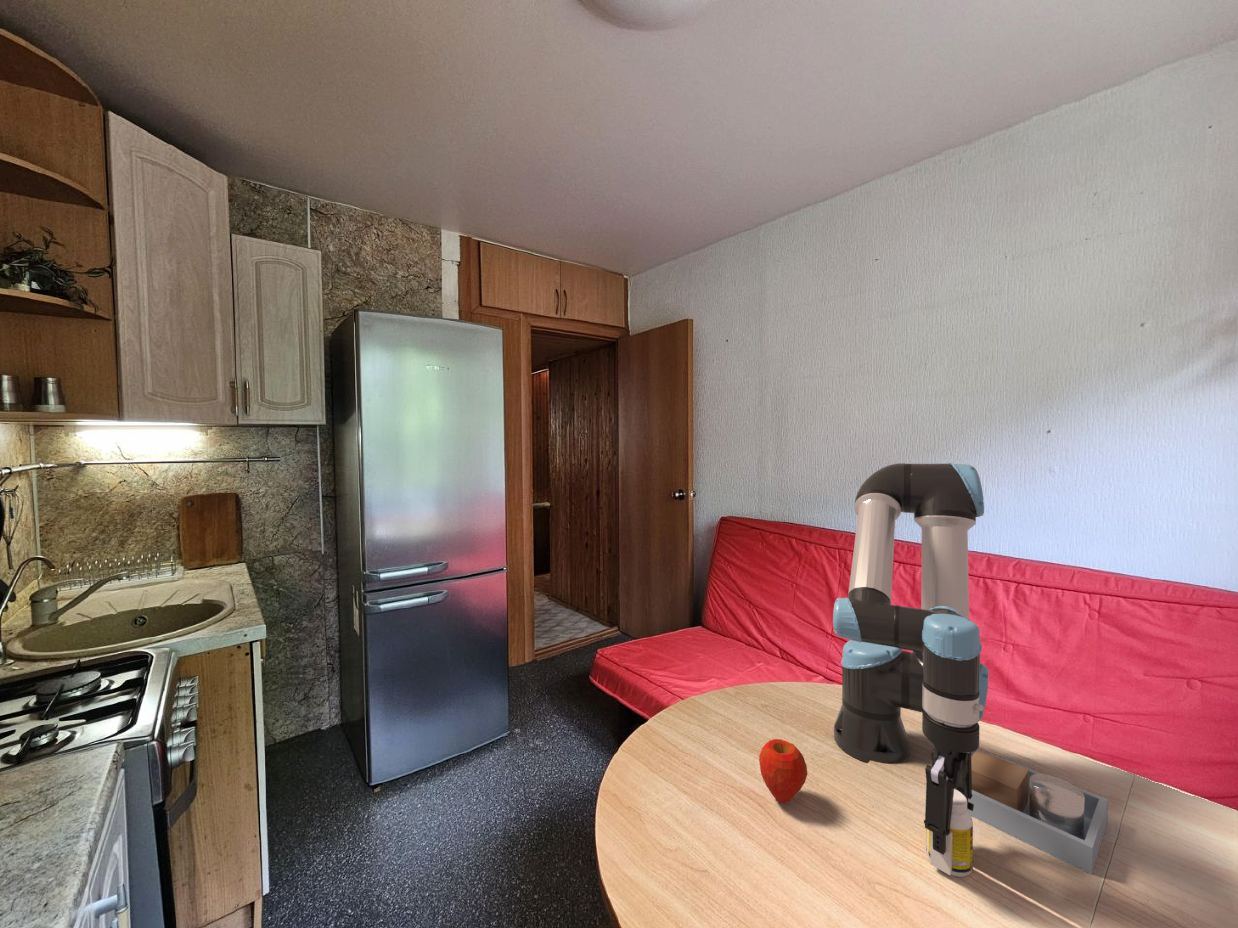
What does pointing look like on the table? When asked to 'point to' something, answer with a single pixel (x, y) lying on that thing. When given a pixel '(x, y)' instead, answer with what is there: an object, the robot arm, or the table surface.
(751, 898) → the table surface
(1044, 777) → the metal tin
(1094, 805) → the crate
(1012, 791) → the walnut block
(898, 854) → the table surface
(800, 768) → the apple
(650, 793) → the table surface
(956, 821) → the pill bottle
